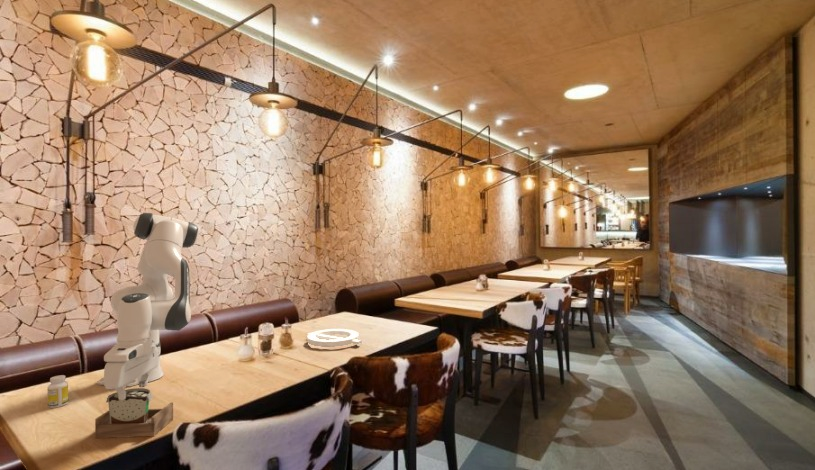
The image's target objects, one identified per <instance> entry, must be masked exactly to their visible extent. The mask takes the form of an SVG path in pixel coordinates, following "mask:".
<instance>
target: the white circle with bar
mask: <svg viewBox="0 0 815 470" xmlns="http://www.w3.org/2000/svg"><path fill="white" fill-rule="evenodd" d="M335 334H340V335H347V336H349V337H346V338H343V337H337V336H330V335H335ZM359 336H360V335H359V332H357V331H355V330H354V329H353V330H352V329H345V328H329V329H322V330H321V329H320V330H316V331H313V332H308V333H306V339H307V341H306V342H308V343H309V344H311V345H314V346H321V347H335V346H343V345H348V344H351V343H353V344H359V343H361V344H362V339H359V340H358V338H359ZM319 338H322V339H319ZM326 339H329V340H326Z"/></svg>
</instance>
